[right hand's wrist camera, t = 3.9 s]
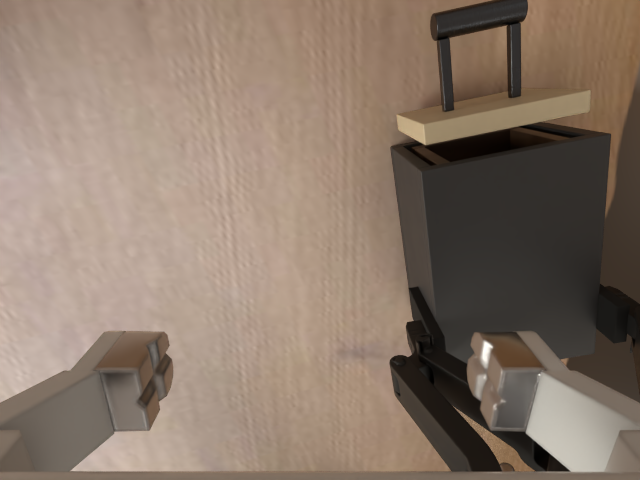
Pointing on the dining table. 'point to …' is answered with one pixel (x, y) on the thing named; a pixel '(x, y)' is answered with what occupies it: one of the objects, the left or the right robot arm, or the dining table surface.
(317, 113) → the dining table surface
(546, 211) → the drawer cabinet
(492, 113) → the drawer
